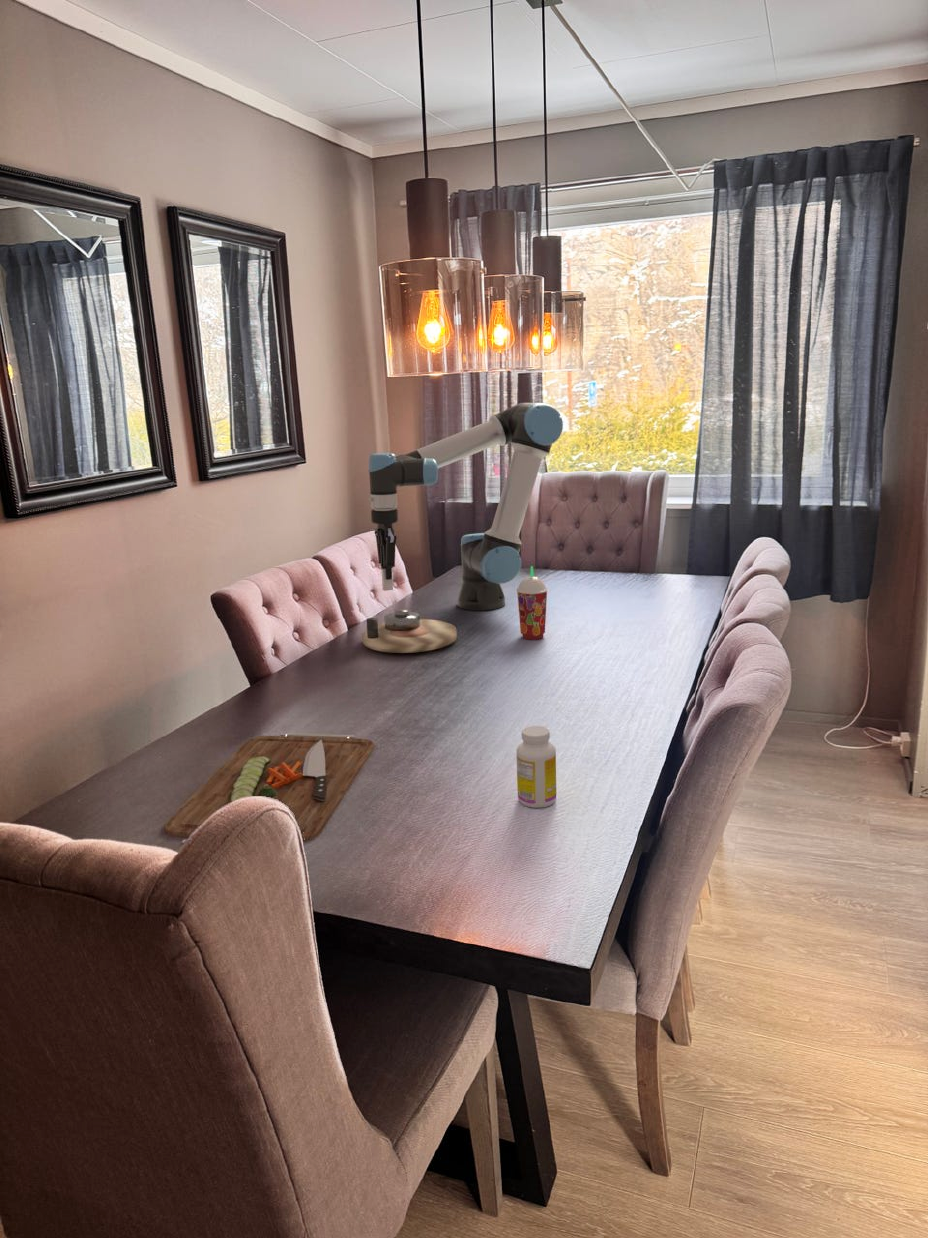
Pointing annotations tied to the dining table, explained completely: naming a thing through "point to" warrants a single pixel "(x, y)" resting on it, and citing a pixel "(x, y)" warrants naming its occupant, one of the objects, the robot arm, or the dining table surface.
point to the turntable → (409, 637)
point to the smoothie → (532, 607)
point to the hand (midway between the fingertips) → (387, 589)
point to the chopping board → (281, 779)
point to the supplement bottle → (536, 768)
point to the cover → (402, 620)
